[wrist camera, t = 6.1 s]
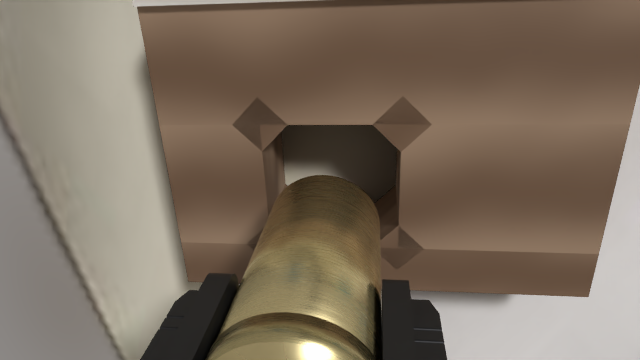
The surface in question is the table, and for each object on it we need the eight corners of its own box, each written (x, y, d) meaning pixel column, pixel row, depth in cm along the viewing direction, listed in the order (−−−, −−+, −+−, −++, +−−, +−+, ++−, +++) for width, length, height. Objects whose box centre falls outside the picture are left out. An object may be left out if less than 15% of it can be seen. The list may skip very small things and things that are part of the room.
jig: (175, -17, 21) (129, -12, 17) (612, -34, 19) (673, -32, 15) (214, 237, 26) (186, 285, 22) (557, 246, 24) (591, 301, 20)
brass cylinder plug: (264, 173, 17) (179, 334, 9) (382, 174, 16) (387, 344, 9) (273, 270, 18) (206, 470, 11) (380, 273, 18) (383, 485, 11)
